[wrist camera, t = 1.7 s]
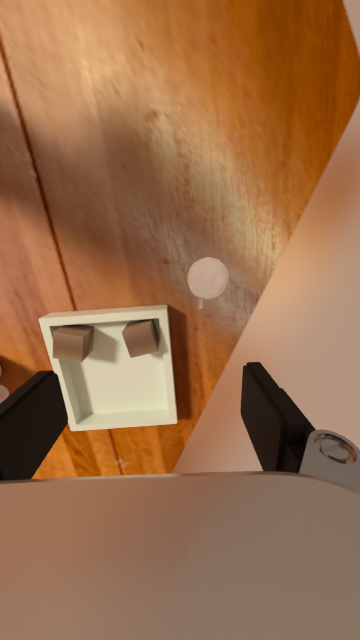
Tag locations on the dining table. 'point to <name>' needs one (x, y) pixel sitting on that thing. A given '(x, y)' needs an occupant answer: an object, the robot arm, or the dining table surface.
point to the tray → (115, 371)
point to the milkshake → (207, 279)
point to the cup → (3, 391)
